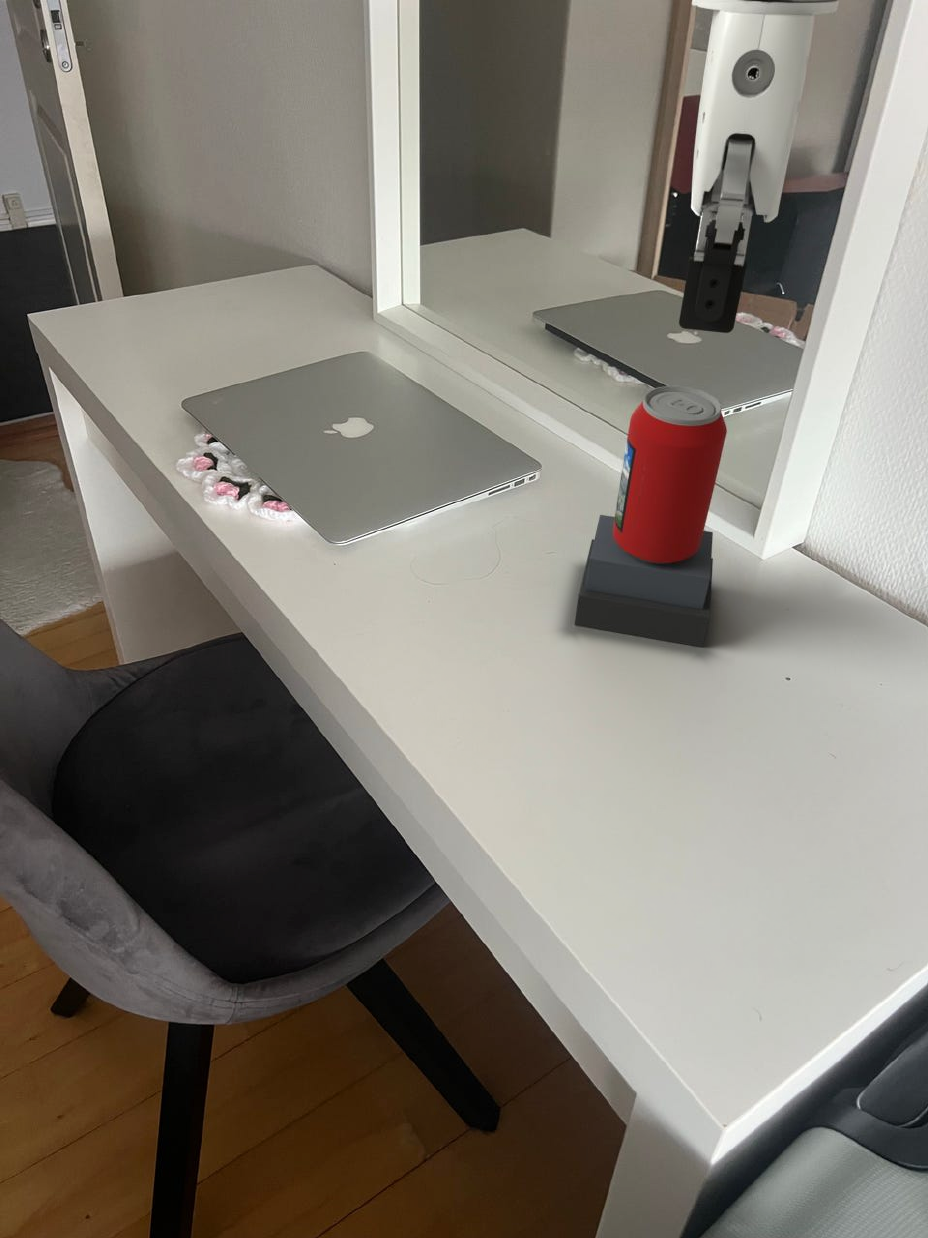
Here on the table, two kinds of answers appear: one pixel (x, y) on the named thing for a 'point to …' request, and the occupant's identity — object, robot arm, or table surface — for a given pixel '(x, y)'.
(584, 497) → the table surface
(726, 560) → the table surface
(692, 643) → the pad base
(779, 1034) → the table surface
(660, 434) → the beverage can
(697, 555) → the pad top
